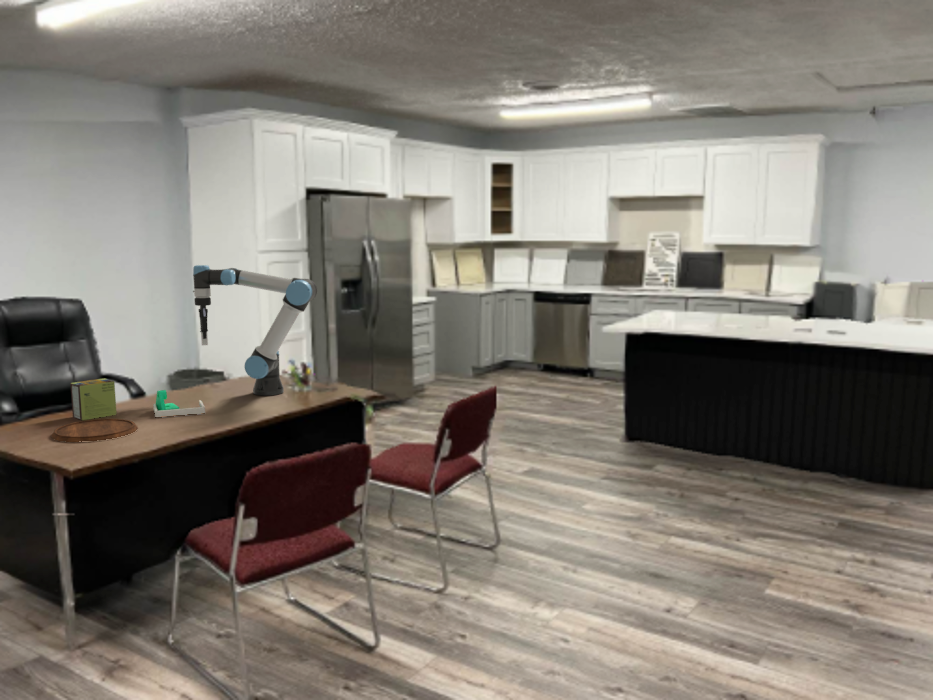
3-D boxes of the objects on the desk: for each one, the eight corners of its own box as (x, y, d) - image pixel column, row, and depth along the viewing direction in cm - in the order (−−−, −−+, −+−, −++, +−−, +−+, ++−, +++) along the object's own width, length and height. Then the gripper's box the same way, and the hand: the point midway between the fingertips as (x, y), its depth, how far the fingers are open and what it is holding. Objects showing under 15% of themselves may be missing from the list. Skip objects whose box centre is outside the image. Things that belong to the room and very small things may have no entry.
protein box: (117, 414, 349) (115, 381, 347) (81, 420, 338) (79, 385, 335) (107, 411, 356) (104, 378, 354) (72, 417, 345) (69, 382, 342)
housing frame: (201, 406, 367) (201, 400, 366) (205, 413, 352) (204, 407, 351) (153, 410, 358) (153, 403, 358) (155, 418, 343) (154, 411, 343)
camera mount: (180, 413, 354) (178, 391, 352) (162, 415, 349) (161, 393, 348) (172, 408, 363) (171, 386, 362) (155, 410, 359) (154, 388, 357)
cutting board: (134, 420, 340) (134, 415, 339) (141, 438, 312) (140, 431, 311) (52, 428, 325) (51, 423, 325) (50, 447, 297) (50, 441, 297)
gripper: (193, 296, 383) (195, 343, 386) (195, 298, 371) (197, 347, 375) (209, 295, 386) (211, 342, 389) (212, 297, 374) (214, 346, 378)
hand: (204, 345), depth 382 cm, fingers closed
